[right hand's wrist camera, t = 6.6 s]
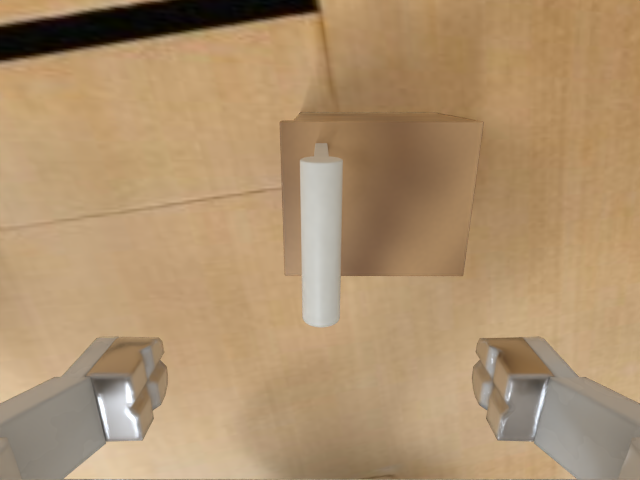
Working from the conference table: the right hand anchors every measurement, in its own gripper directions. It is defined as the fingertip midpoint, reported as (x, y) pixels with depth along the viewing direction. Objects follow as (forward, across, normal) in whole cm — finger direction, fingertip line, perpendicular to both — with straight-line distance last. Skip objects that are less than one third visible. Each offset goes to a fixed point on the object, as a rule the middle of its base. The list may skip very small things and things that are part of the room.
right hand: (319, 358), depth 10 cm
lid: (+16, +4, 0) cm, 17 cm away
